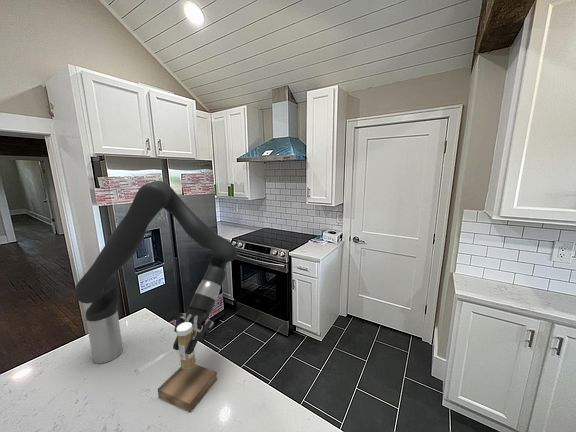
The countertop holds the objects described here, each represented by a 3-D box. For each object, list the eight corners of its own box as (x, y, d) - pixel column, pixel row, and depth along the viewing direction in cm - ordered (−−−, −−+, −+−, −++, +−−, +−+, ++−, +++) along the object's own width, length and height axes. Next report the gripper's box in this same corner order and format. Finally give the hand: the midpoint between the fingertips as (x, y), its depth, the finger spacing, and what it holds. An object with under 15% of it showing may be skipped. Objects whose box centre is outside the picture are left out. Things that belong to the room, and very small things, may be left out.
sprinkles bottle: (197, 365, 73) (193, 327, 71) (181, 372, 71) (177, 332, 69) (194, 356, 77) (190, 319, 75) (179, 362, 75) (175, 324, 72)
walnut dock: (158, 397, 72) (157, 388, 72) (188, 368, 83) (187, 360, 83) (190, 412, 68) (189, 403, 67) (217, 379, 79) (216, 371, 78)
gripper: (183, 289, 80) (156, 344, 71) (217, 296, 75) (192, 356, 66) (196, 296, 86) (172, 347, 77) (228, 303, 80) (206, 359, 71)
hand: (181, 351), depth 71 cm, fingers closed on sprinkles bottle, 4 cm apart
